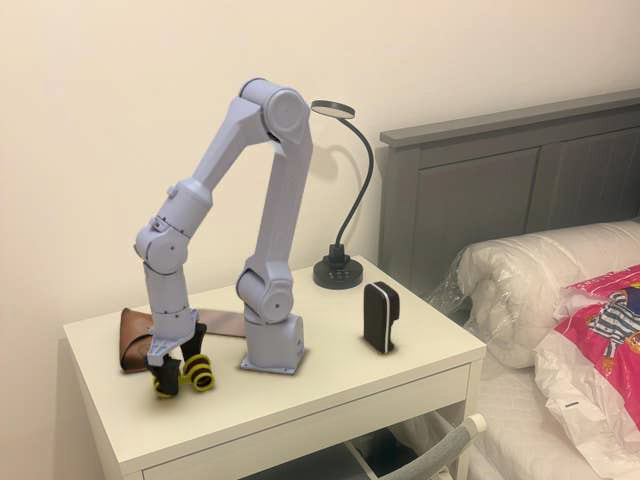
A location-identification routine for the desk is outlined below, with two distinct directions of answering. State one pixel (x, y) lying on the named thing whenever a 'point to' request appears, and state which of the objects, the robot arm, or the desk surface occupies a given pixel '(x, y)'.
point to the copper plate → (223, 323)
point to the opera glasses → (192, 375)
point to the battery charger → (380, 315)
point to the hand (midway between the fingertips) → (182, 379)
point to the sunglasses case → (134, 339)
